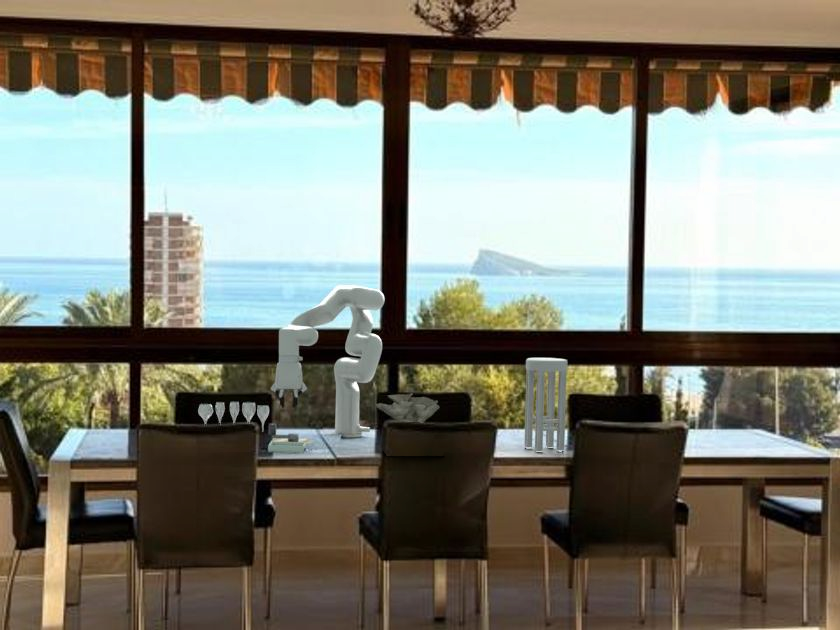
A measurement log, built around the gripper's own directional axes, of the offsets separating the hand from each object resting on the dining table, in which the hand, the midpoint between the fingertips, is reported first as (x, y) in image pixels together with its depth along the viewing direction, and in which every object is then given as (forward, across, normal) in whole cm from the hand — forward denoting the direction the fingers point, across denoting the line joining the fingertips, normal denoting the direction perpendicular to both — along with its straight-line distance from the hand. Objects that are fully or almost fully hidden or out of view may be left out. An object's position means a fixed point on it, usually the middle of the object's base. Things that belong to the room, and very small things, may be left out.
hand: (288, 406), depth 474 cm
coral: (+15, -46, +15) cm, 51 cm away
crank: (+12, +1, +6) cm, 14 cm away
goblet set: (+14, +24, -20) cm, 34 cm away
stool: (+16, -98, +1) cm, 99 cm away
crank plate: (+14, -1, +4) cm, 15 cm away
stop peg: (+1, 0, 0) cm, 1 cm away
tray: (+14, -1, +18) cm, 22 cm away
